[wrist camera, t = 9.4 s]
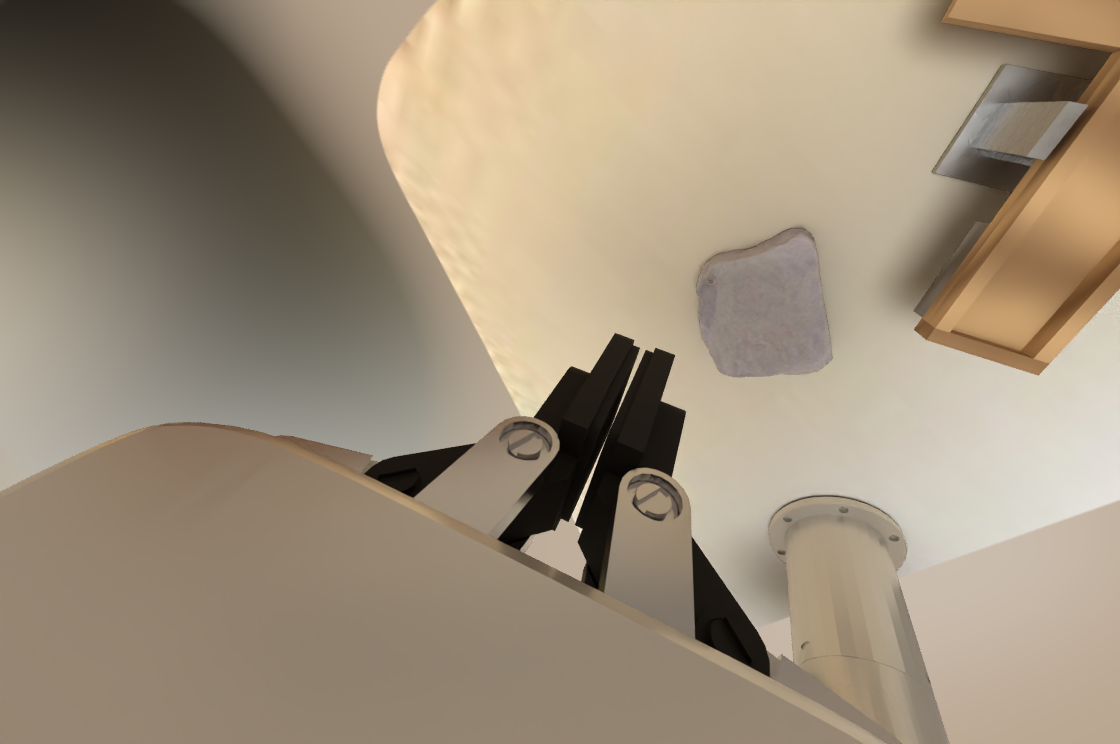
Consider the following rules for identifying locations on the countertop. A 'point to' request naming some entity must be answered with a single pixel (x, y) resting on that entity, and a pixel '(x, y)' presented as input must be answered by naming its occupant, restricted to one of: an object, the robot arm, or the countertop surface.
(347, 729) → the robot arm
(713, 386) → the countertop surface
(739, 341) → the stone block
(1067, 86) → the fulcrum
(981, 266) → the seesaw
